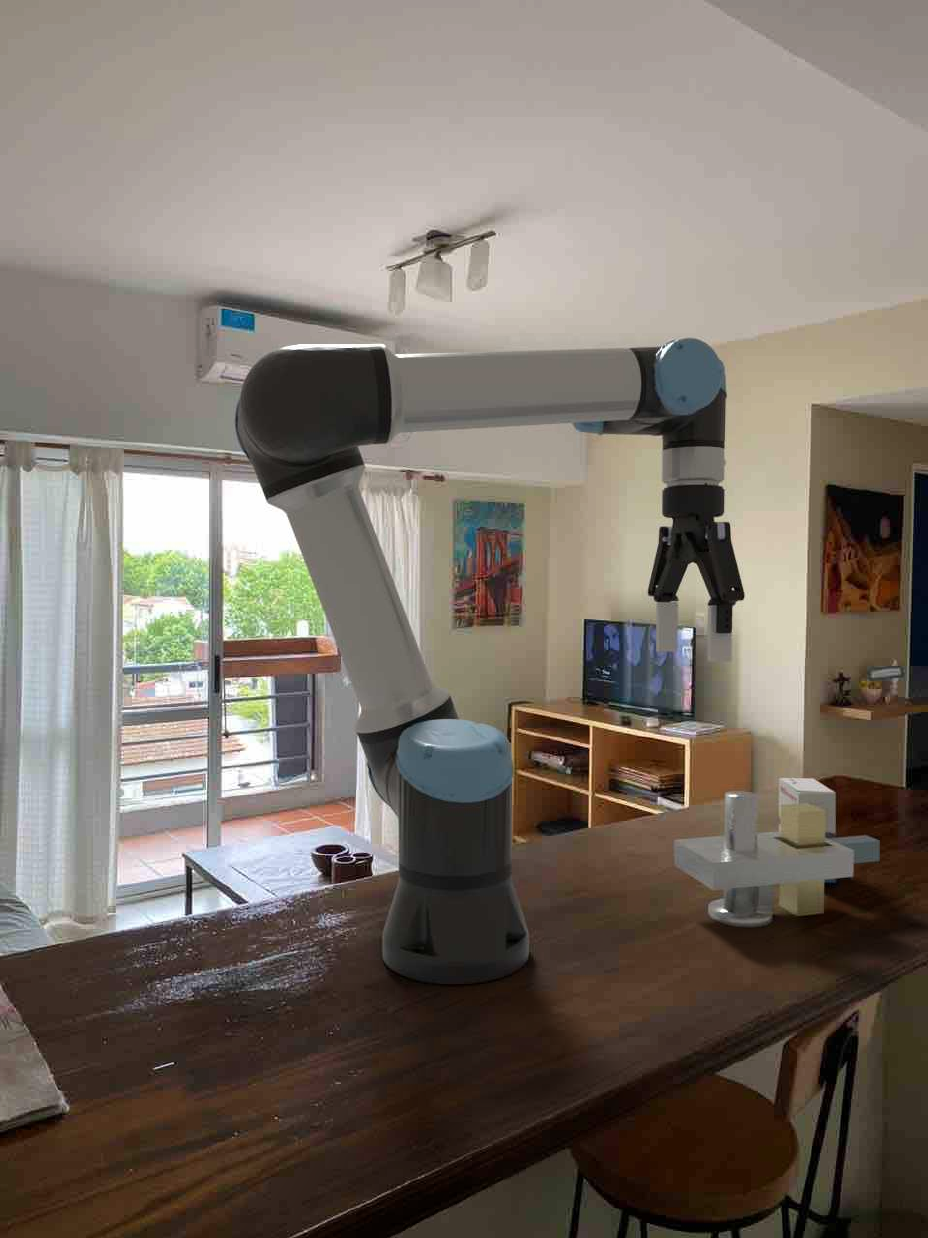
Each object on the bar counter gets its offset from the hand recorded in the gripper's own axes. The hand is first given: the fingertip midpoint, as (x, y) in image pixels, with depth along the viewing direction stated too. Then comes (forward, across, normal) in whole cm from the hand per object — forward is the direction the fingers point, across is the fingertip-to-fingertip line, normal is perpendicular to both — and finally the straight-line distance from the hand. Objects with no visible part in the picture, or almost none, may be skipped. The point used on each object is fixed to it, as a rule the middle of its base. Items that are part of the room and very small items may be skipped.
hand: (691, 656), depth 117 cm
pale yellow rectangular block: (+29, -12, -8) cm, 32 cm away
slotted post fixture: (+29, -12, -6) cm, 32 cm away
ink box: (+29, -1, -16) cm, 33 cm away
